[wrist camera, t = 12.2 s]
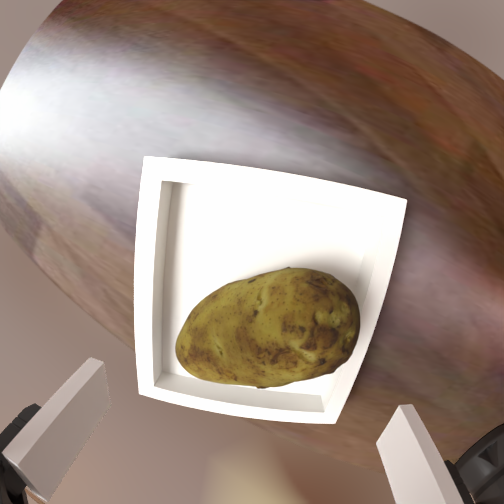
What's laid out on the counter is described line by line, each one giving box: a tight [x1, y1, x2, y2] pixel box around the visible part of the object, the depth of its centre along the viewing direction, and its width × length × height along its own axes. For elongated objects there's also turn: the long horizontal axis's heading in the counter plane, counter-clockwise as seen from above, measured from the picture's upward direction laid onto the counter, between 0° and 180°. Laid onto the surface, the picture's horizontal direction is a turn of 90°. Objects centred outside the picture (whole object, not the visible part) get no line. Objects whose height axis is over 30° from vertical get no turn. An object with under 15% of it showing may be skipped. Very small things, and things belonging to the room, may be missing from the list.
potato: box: [175, 267, 360, 389], centre depth 18 cm, size 8×13×8 cm, turn 98°
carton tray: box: [134, 157, 407, 424], centre depth 21 cm, size 20×18×4 cm
